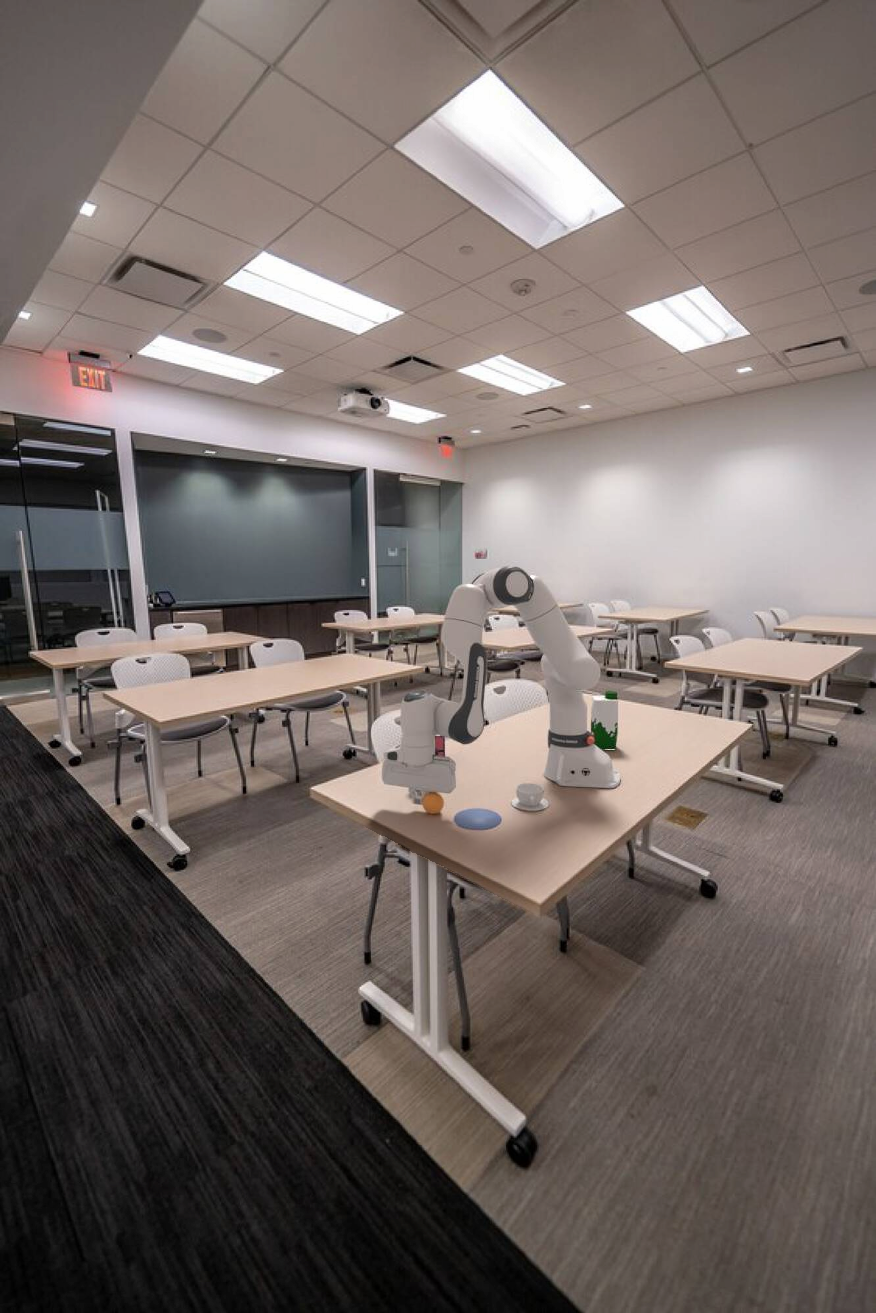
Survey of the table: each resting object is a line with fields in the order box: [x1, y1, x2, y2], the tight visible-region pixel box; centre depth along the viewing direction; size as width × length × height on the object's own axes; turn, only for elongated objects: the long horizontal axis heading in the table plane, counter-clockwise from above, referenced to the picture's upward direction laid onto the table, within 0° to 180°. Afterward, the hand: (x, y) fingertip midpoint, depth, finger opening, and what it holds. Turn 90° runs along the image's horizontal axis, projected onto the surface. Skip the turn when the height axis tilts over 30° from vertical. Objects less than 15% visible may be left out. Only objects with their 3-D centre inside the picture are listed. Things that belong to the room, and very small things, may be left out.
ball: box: [422, 792, 445, 815], centre depth 142 cm, size 6×6×6 cm
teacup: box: [510, 782, 550, 812], centre depth 147 cm, size 10×10×5 cm
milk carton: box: [590, 690, 619, 749], centre depth 192 cm, size 9×9×20 cm
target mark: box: [453, 808, 502, 831], centre depth 138 cm, size 12×12×1 cm
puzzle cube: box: [434, 735, 446, 757], centre depth 183 cm, size 10×10×10 cm
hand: (418, 803), depth 144 cm, fingers closed
